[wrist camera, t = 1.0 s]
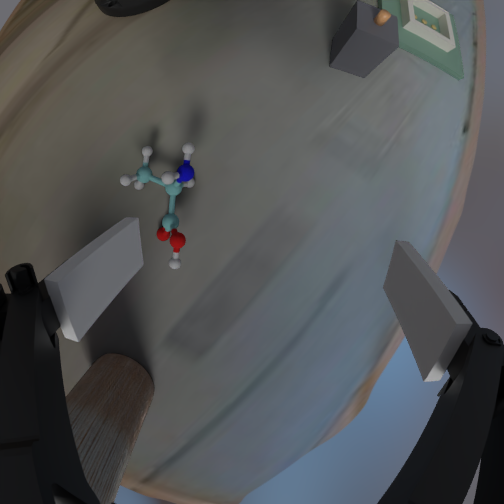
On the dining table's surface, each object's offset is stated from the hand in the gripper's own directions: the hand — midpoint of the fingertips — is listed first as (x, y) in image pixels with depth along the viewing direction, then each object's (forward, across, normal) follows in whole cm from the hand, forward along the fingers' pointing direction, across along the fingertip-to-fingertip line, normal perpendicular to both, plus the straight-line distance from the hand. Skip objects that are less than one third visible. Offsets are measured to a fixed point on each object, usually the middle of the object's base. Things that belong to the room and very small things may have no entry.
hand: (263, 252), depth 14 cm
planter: (+10, -19, -27) cm, 35 cm away
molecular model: (+18, -12, -2) cm, 22 cm away
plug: (+27, +9, +17) cm, 33 cm away
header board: (+33, +22, +29) cm, 49 cm away
